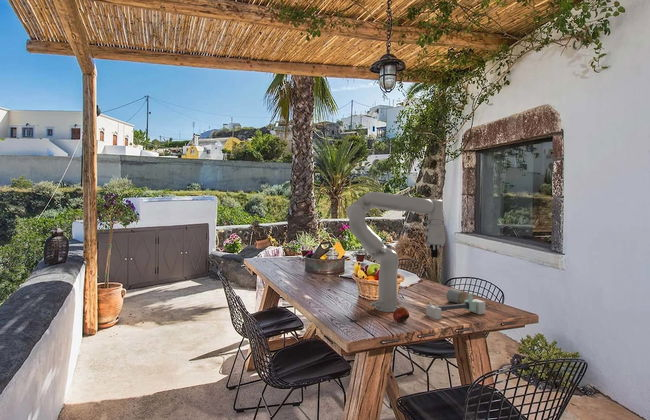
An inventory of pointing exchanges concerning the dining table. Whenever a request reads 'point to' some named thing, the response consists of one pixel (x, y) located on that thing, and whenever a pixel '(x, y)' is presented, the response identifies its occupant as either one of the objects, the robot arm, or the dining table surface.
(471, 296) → the sleeve
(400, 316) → the pomegranate
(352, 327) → the dining table surface
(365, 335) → the dining table surface
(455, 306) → the rail
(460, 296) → the ceramic mug
